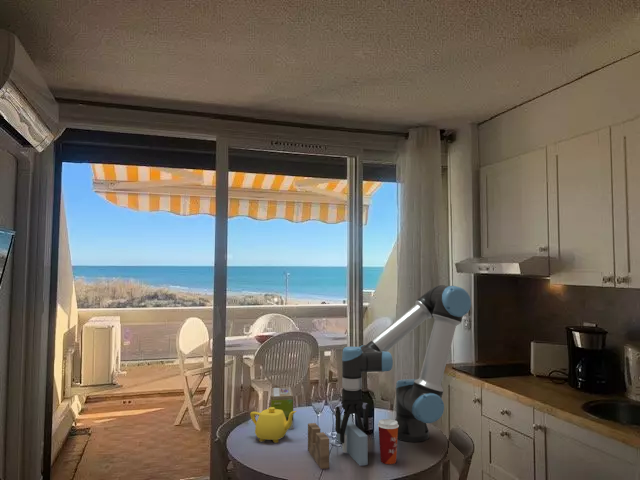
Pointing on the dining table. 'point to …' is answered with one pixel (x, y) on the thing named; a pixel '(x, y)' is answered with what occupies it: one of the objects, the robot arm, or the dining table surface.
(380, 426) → the paper cup
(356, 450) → the slate board
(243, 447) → the dining table surface
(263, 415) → the teapot
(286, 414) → the tea box
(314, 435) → the notched walnut block
